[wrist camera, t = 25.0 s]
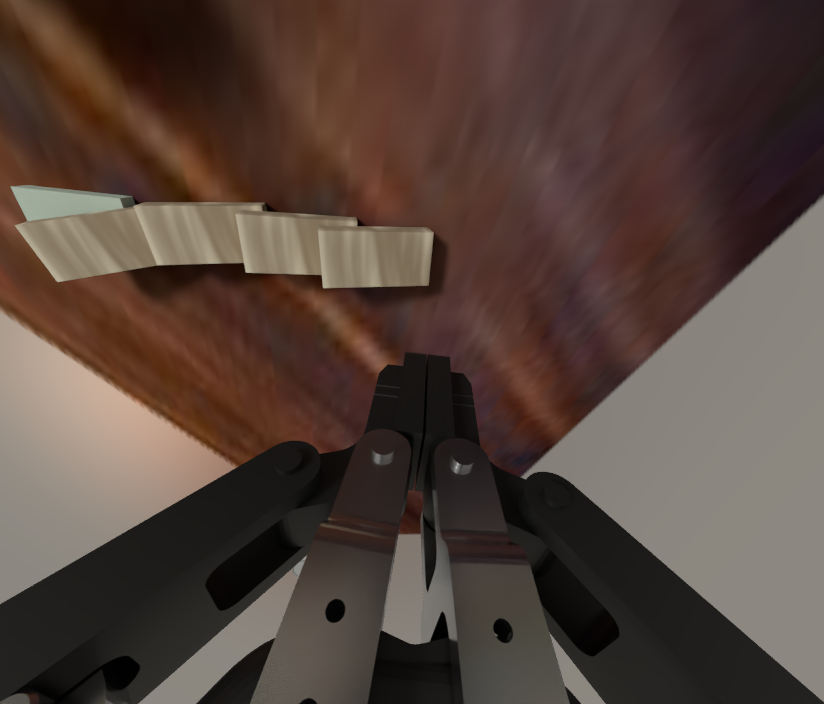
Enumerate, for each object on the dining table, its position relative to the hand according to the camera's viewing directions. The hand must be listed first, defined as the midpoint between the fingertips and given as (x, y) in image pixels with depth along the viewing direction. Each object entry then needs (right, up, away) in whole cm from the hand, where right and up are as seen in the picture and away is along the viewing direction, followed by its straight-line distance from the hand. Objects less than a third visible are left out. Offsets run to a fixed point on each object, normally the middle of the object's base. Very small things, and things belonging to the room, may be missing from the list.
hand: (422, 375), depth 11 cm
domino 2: (-24, +12, +20) cm, 33 cm away
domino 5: (+1, +10, +20) cm, 22 cm away
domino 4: (-6, +11, +20) cm, 23 cm away
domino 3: (-14, +12, +20) cm, 27 cm away
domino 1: (-27, +13, +20) cm, 36 cm away
